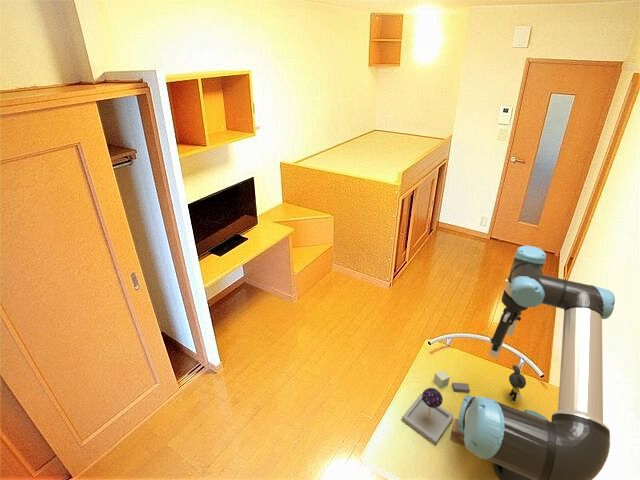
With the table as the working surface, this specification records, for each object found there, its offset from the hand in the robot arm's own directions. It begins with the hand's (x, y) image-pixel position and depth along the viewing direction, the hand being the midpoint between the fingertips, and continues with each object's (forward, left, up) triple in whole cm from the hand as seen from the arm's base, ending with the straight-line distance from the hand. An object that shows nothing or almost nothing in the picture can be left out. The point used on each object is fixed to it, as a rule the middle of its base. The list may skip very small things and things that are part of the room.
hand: (500, 344), depth 116 cm
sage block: (+16, 0, -33) cm, 36 cm away
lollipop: (+12, +18, -32) cm, 39 cm away
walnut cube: (+1, +16, -33) cm, 37 cm away
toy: (-7, -12, -33) cm, 36 cm away
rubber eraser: (+9, -3, -33) cm, 34 cm away
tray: (+12, +18, -33) cm, 39 cm away
